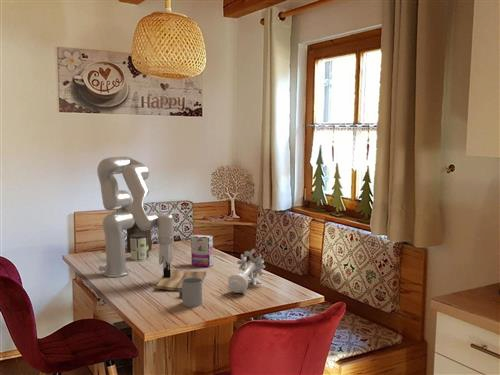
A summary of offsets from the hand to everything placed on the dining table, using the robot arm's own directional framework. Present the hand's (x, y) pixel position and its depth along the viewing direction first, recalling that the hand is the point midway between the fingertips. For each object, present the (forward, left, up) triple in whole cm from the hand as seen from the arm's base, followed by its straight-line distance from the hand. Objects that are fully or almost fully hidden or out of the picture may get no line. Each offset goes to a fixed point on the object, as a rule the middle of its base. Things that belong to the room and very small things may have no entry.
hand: (167, 277), depth 251 cm
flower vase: (+39, -8, -3) cm, 40 cm away
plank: (+2, 0, -2) cm, 3 cm away
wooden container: (-31, +68, -3) cm, 75 cm away
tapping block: (+14, -20, -3) cm, 24 cm away
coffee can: (-25, +46, -3) cm, 53 cm away
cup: (+17, -31, -3) cm, 35 cm away
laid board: (+12, 0, -2) cm, 12 cm away
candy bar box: (+13, +32, -3) cm, 35 cm away
